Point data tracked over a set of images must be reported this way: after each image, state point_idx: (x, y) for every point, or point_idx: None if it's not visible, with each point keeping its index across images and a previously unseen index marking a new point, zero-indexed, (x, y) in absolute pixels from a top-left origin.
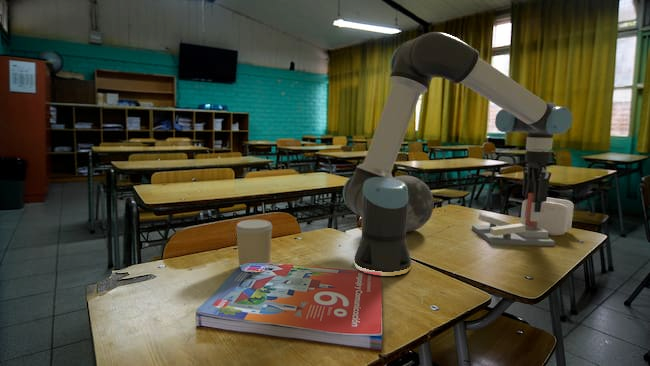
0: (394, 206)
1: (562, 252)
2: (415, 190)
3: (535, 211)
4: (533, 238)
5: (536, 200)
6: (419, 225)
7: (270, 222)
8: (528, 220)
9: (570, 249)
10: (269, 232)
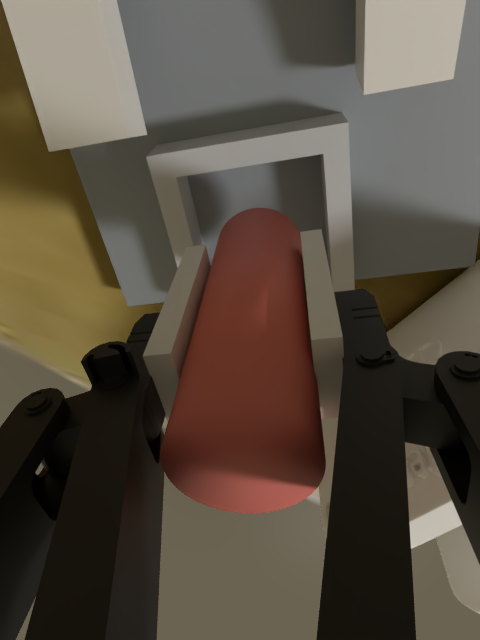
0: None
1: (30, 288)
2: None
3: (152, 316)
4: (146, 205)
5: (93, 393)
6: None
7: None
8: (226, 236)
9: (104, 341)
10: None
